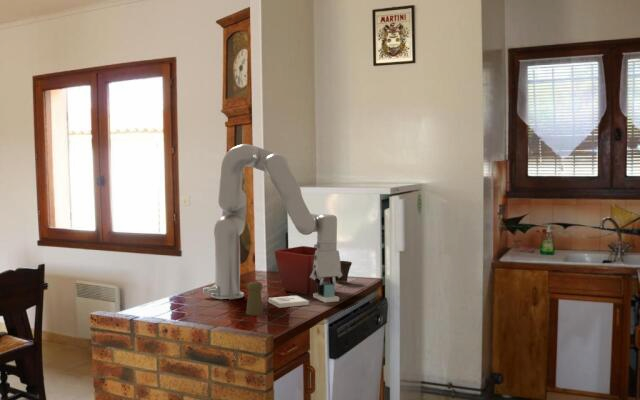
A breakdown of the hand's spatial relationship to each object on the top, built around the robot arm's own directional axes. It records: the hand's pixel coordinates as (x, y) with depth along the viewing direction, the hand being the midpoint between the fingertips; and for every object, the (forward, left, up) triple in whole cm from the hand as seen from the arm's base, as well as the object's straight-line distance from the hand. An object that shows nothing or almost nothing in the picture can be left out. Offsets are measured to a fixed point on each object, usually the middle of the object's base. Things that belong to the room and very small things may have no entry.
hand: (326, 293), depth 226 cm
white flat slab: (-16, 0, -2) cm, 16 cm away
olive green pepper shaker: (-33, -9, -2) cm, 34 cm away
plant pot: (0, +18, -3) cm, 18 cm away
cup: (+22, +27, -2) cm, 35 cm away
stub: (0, 0, -2) cm, 2 cm away
